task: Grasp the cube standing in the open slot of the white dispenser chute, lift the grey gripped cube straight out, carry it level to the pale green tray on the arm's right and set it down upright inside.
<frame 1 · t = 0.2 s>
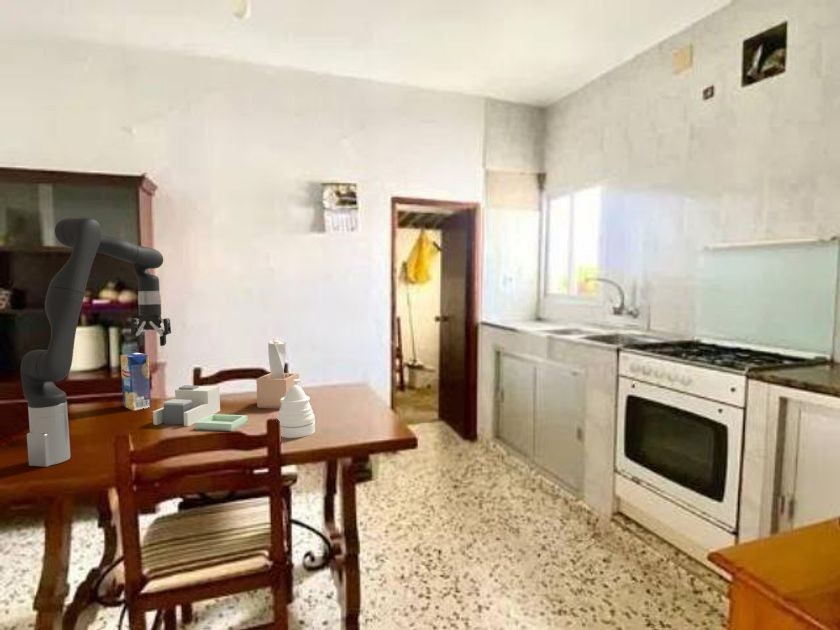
hand: (151, 345, 192), 28 cm above the table, fingers open, 8 cm apart
grey gripped cube: (178, 422, 190), on the table
honey pot: (296, 432, 177), on the table
tray: (222, 425, 185), on the table
beverage box: (137, 407, 213), on the table
grater stand: (279, 404, 215), on the table
white dispenser chute: (188, 417, 196), on the table
skyscraper: (279, 403, 215), resting on grater stand
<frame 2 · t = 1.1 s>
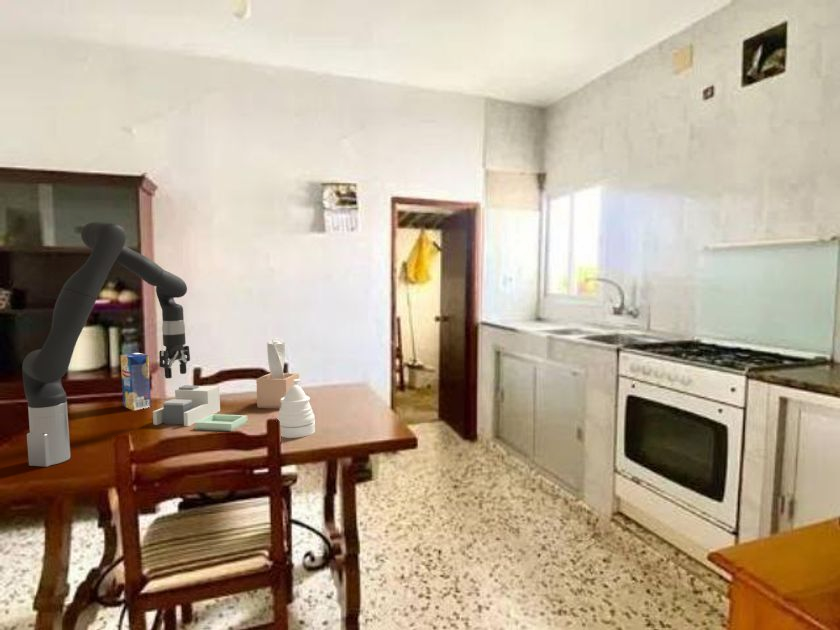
hand: (176, 375, 188), 17 cm above the table, fingers open, 8 cm apart
nothing on the table moved.
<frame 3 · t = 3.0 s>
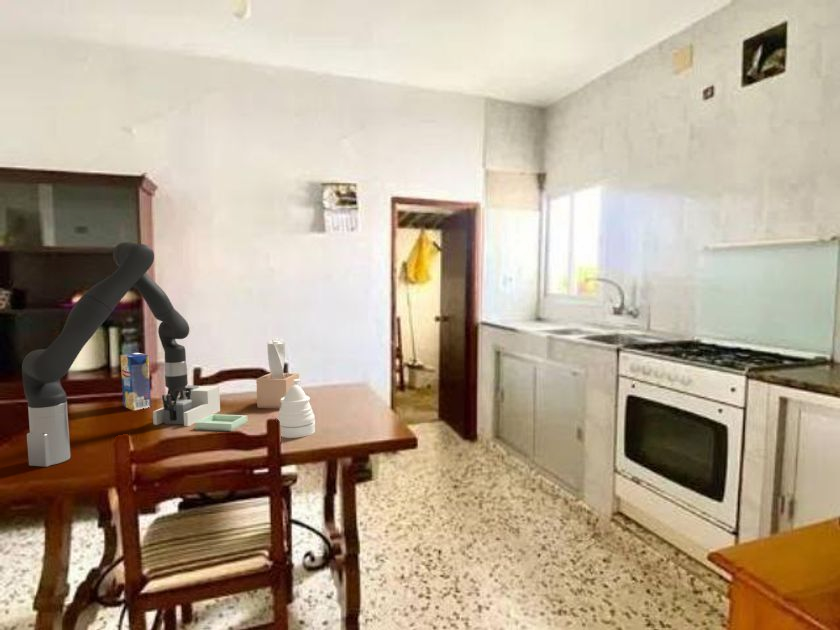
hand: (178, 418, 190), 1 cm above the table, fingers closed on grey gripped cube, 5 cm apart
grey gripped cube: (178, 422, 190), on the table, touching gripper
everything else where it was.
when the fingers open (4 cm above the table, at t = 9.1 s): grey gripped cube drops 2 cm, resting on tray.
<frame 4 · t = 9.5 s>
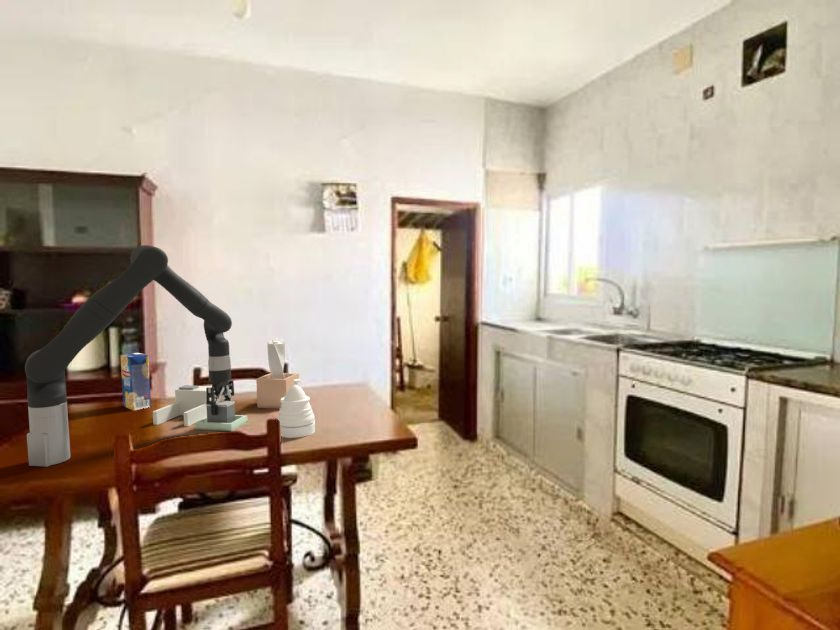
hand: (221, 411, 184), 5 cm above the table, fingers open, 8 cm apart
grey gripped cube: (221, 424, 184), point 1 cm above the table, touching tray
everything else where it was.
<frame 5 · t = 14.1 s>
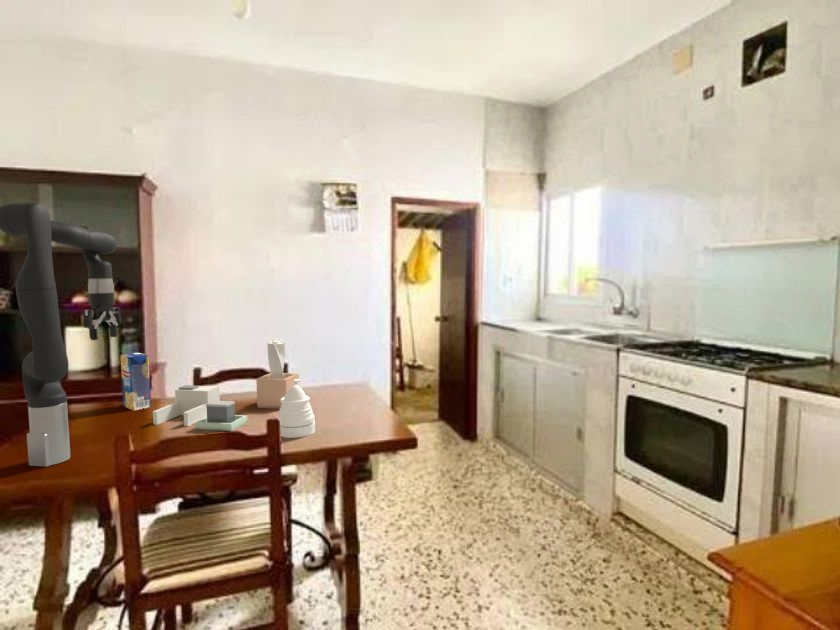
hand: (104, 338, 176), 33 cm above the table, fingers open, 8 cm apart
nothing on the table moved.
at the end: grey gripped cube inside the target area on the tray (0.3 cm from its centre), point 0.6 cm above the tray's base; grey gripped cube tilted 0°; the gripper is holding nothing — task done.
